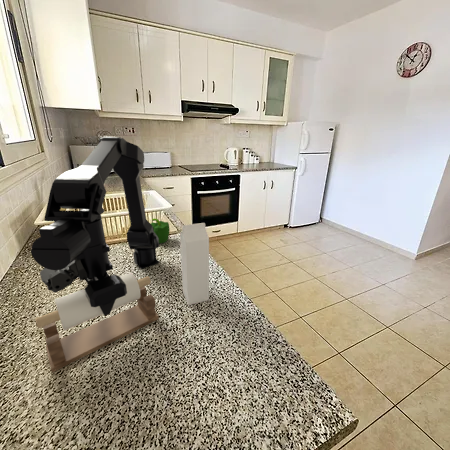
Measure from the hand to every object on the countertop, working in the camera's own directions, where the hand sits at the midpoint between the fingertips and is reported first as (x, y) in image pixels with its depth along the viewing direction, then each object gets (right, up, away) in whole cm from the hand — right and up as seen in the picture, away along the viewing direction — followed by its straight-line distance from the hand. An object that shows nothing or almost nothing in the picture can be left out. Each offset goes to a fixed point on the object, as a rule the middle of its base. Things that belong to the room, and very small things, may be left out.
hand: (102, 306), depth 52 cm
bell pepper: (0, +11, +48) cm, 49 cm away
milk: (+18, -3, +16) cm, 24 cm away
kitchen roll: (0, +2, -1) cm, 2 cm away
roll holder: (0, -7, +3) cm, 8 cm away
